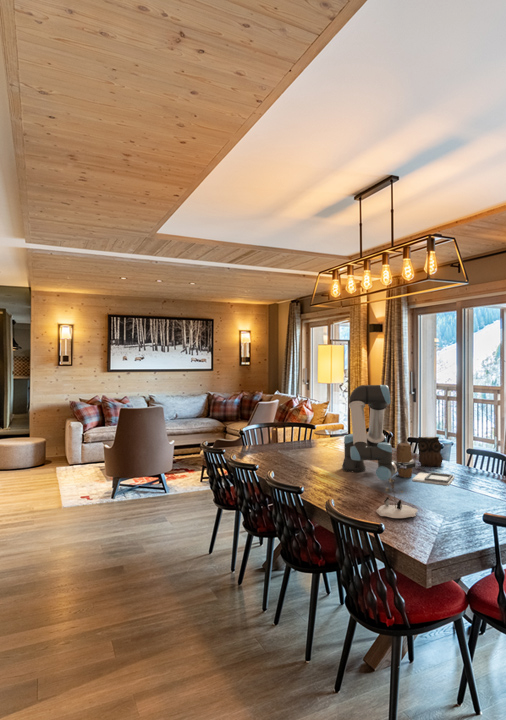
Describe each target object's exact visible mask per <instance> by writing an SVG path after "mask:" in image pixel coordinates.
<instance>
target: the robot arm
mask: <svg viewBox="0 0 506 720" xmlns="http://www.w3.org/2000/svg"><path fill="white" fill-rule="evenodd" d="M348 398H349V399H348V408H349V409H350V416H351V431H352V433H349V434H347V435H344V438H343V444H344V447H343V448H344V458H343V461H342V464H341V469H342V470H343V469H344V470H347V471H346V472H349V471H353V472H352V473H360V472H361V471H362V472H365V471H366V467H367V466H366V465H365V461H377V468H376V470H375V475H376V477H377V478H378V479H379V480H381V481H387V480H389V479H390V478H391V477H393V476H394V475H396V474H398V471H399V469H402V468H403V469H404V470H406V469H409V468H412V469H413V468H416V462H414V461H415V460H414V459H413V458H412V460H411V461H410V462H407V463H401V462H397V460H393V449H392V444H391V443H390V442H388V440H387V437H386V436H385V435H384V433H383V430H384V421H385V420H384V418H385V409H387V407H388V405H391V404H392V403H391V402H392V401H391V393H390V389H389V385H386V384H366V385H365V384H362V385H359V386H357V387H355V388H354V389H353V390H352V392H351V393H350V396H349V397H348ZM366 405H368V407H369V421H368V431H367V427H366V417H365V409H364V408H366ZM344 470H343V471H344Z"/></svg>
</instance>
